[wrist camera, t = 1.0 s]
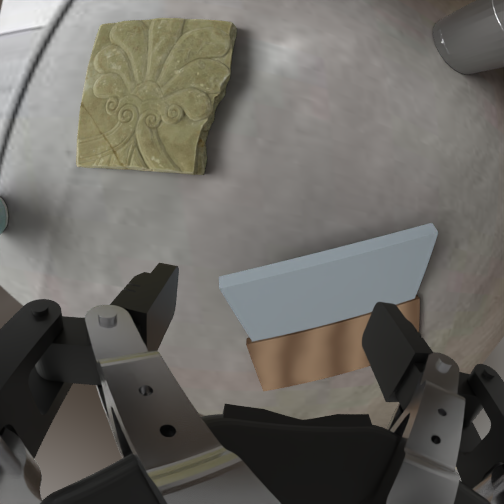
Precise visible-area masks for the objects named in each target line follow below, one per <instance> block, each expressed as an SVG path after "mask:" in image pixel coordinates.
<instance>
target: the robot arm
mask: <svg viewBox="0 0 504 504" xmlns="http://www.w3.org/2000/svg"><path fill="white" fill-rule="evenodd" d="M433 37H434V41H435V45H436V47H437V49H438V51H439V53H440V55H441V56H442V58H443V59H444V60H445V61H446V63H447V64H448V65H449V66H450V67H452V68H453V69H454V70H456V71H458V72H460V73H462V74H474V73H478V72H483V71H488V70H493V69H498V68H503V67H504V0H476V1H474V2H472V3H470V4H468V5H466V6H464V7H463V8H461V9H459V10H457V11H455V12H453V13H451V14H450V15H448V16H446V17H444V18H443V19H441V20H439V21H438V22H437V23H436V24H435V26H434V29H433ZM178 274H179V268H178V266H174V265H169V264H164V263H159V264H158V265H157V266H156V267H155V269H154V270H153V271H152V272H151V273H146V272H143V273H141V274H139V275H137V276H135V277H134V278H133V279H132V280H131V281H130V282H129V284H127V286H126V287H125V288H124V290H122V291H121V292H120V294H119V295H118V296H117V297H116V298H115V299H114V301H113V302H112V303H111V304H110V305H100V306H96V307H94V308H92V309H90V310H89V311H88V312H87V313H86V315H85V318H76V317H64V316H62V313H61V307H60V306H59V304H57V303H56V302H54V301H52V300H46V299H40V300H34V301H31V302H29V303H27V304H26V305H24V306H23V307H22V308H21V309H20V310H19V311H18V312H17V313H16V314H15V315H14V316H13V317H12V318H11V319H10V320H9V321H8V322H7V323H6V324H5V325H4V326H3V327H2V328H1V329H0V504H504V382H503V380H502V379H501V377H500V376H499V375H498V374H497V372H496V371H495V370H493V369H492V368H490V367H489V366H487V365H484V364H477V365H476V366H475V367H474V369H473V371H472V372H471V374H466V373H462V372H459V367H458V365H457V363H456V362H455V361H454V360H453V359H451V358H450V357H448V356H446V355H444V354H441V353H433V352H432V350H431V349H430V347H429V346H428V345H427V343H426V342H425V340H424V339H423V338H421V335H420V333H419V332H417V329H416V328H415V327H414V325H413V324H412V323H411V322H410V321H409V320H407V319H406V318H405V316H404V315H403V314H402V312H401V311H400V310H399V308H398V307H397V306H396V305H395V304H392V303H385V302H377V303H376V304H375V306H374V308H373V311H372V313H371V316H370V318H369V321H368V323H367V325H366V328H365V330H364V333H363V336H362V347H363V350H364V352H365V354H366V356H367V359H368V361H369V363H370V365H371V368H372V370H373V372H374V375H375V377H376V379H377V382H378V384H379V386H380V389H381V391H382V393H383V396H384V398H385V401H386V402H399V405H398V406H397V408H396V409H395V411H394V413H393V416H392V418H391V420H390V422H389V424H388V427H387V429H385V428H382V427H379V426H376V425H372V423H371V420H370V417H369V414H336V415H331V416H325V417H320V418H314V419H307V420H300V419H296V418H292V417H289V416H285V415H282V414H278V413H275V412H271V411H268V410H265V409H259V408H251V407H244V406H237V405H230V404H225V406H224V410H223V414H218V415H208V416H203V417H200V415H199V414H198V412H197V411H196V409H195V408H194V406H193V405H192V404H191V402H190V401H189V399H188V398H187V396H186V395H185V393H184V391H183V390H182V388H181V387H180V385H179V384H178V382H177V381H176V379H175V377H174V376H173V374H172V373H171V371H170V369H169V368H168V366H167V365H166V363H165V361H164V360H163V358H162V356H161V355H160V353H159V352H158V351H157V350H158V348H159V346H160V344H161V342H162V339H163V337H164V335H165V333H166V331H167V329H168V326H169V324H170V322H171V320H172V318H173V315H174V311H175V306H176V297H177V285H178ZM73 383H78V384H89V385H96V387H97V390H98V393H99V396H100V399H101V402H102V405H103V408H104V411H105V413H106V416H107V419H108V421H109V424H110V427H111V429H112V432H113V435H114V438H115V441H116V444H117V446H118V449H119V451H120V453H121V456H122V458H123V459H121V460H119V461H117V462H116V463H114V464H112V465H110V466H108V467H106V468H104V469H102V470H100V471H98V472H96V473H94V474H92V475H90V476H88V477H86V478H84V479H82V480H80V481H78V482H75V483H73V484H71V485H69V486H67V487H64V488H62V489H60V490H58V491H56V492H53V493H52V494H50V495H49V496H47V497H46V498H45V499H44V500H43V501H42V498H41V494H40V485H41V480H42V475H41V470H40V468H39V466H38V464H37V462H36V461H35V460H34V458H35V456H36V454H37V451H38V449H39V447H40V445H41V443H42V441H43V439H44V437H45V435H46V433H47V431H48V429H49V427H50V425H51V423H52V421H53V419H54V417H55V415H56V413H57V412H58V410H59V408H60V406H61V404H62V402H63V400H64V399H65V397H66V395H67V393H68V391H69V389H70V388H71V386H72V384H73ZM483 408H484V410H485V412H486V413H487V415H488V417H489V419H490V421H491V429H490V431H489V433H488V434H487V435H486V437H485V438H484V439H483V440H481V438H480V436H479V434H478V432H477V430H476V428H475V427H474V424H473V423H472V421H473V420H474V419H475V418H476V416H477V415H478V414H479V413H480V411H481V410H482V409H483ZM455 467H457V470H458V472H459V474H458V473H456V472H455ZM459 475H460V478H461V480H462V482H461V481H460V480H459Z"/></svg>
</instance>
